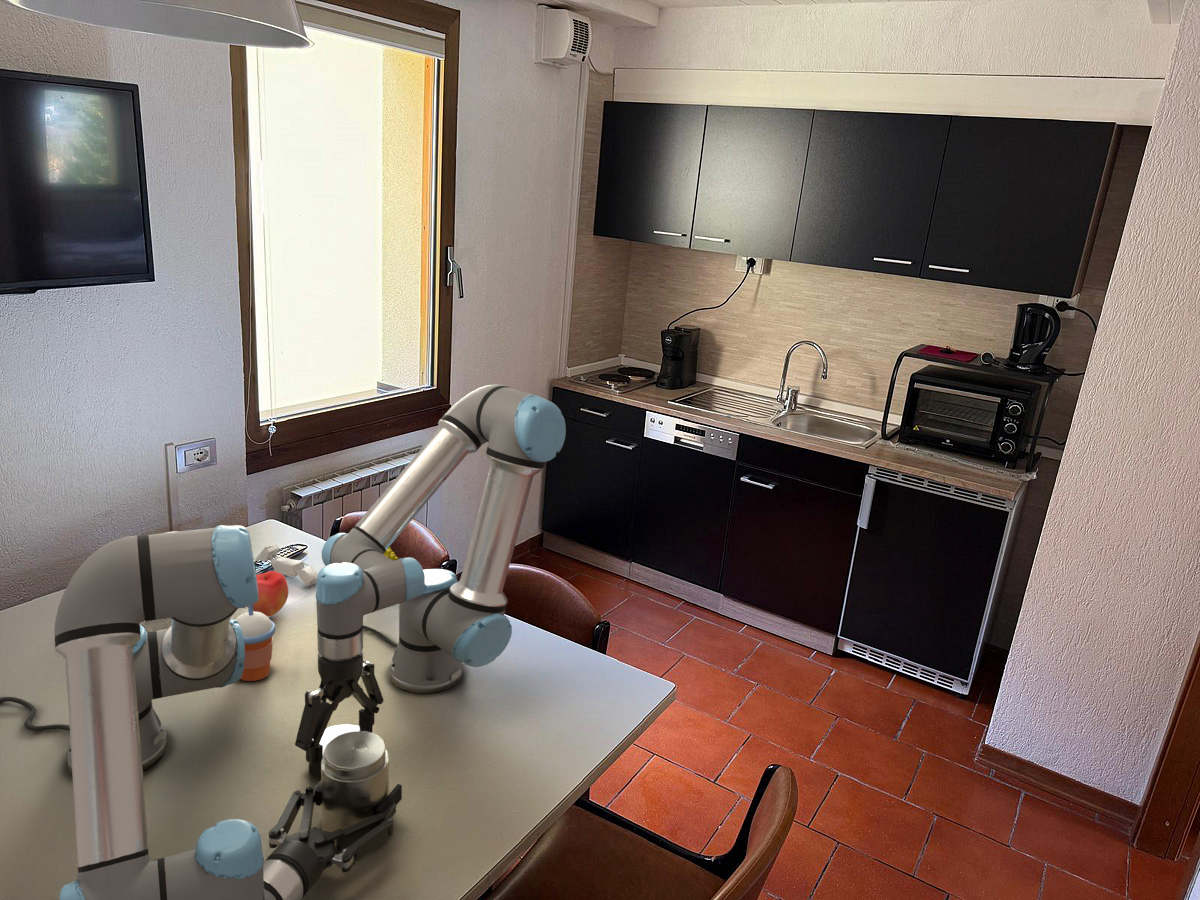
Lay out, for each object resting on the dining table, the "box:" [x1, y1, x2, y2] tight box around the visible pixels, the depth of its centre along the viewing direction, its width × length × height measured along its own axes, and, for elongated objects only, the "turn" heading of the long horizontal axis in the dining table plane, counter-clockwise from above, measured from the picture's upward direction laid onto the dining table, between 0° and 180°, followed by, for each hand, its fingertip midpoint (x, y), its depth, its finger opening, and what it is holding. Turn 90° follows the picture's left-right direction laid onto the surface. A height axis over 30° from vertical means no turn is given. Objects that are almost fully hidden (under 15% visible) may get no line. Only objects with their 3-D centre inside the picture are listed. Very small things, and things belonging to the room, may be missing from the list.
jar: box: [320, 731, 390, 849], centre depth 136 cm, size 10×10×15 cm
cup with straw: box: [234, 605, 276, 682], centre depth 175 cm, size 9×9×18 cm
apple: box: [246, 570, 289, 618], centre depth 199 cm, size 10×10×10 cm
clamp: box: [254, 544, 319, 587], centre depth 219 cm, size 20×4×7 cm, turn 62°
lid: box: [312, 723, 369, 755], centre depth 153 cm, size 11×11×2 cm
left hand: (370, 782), depth 140 cm, fingers closed on jar, 10 cm apart
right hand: (341, 758), depth 154 cm, fingers closed on lid, 11 cm apart
